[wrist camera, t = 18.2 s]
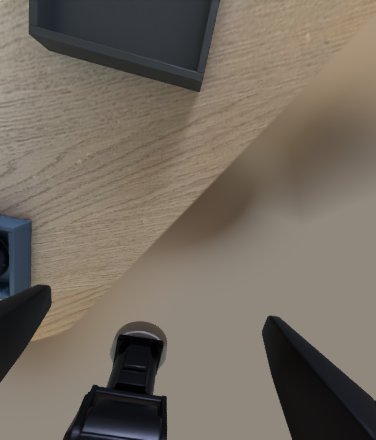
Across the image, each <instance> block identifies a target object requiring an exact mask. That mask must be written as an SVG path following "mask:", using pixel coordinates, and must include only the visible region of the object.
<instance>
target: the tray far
mask: <svg viewBox="0 0 376 440" xmlns="http://www.w3.org/2000/svg"><path fill="white" fill-rule="evenodd" d="M0 239H1V240H2V241H3V242H4V243H5V244H6V246H7V247H8V250H9V267H8V269H7V271H6V272H5V273H4V274H3V275H2V276H0V299H5V298H8V297H10V296H12V295H15V294H17V293H19V292H22V291H24V290H26V289H29V288H30V280H31V221H28V220H23V219H18V218H13V217H8V216H3V215H0Z"/></svg>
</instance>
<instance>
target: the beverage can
mask: <svg viewBox="0 0 376 440" xmlns="http://www.w3.org/2000/svg"><path fill="white" fill-rule="evenodd" d="M8 267H9V250H8V247H7V246H6V244H5V243H4V242H3V241H2V240H1V239H0V276H2V275H3V274H4V273H5V272H6V271H7V269H8Z"/></svg>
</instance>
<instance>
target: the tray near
mask: <svg viewBox="0 0 376 440" xmlns="http://www.w3.org/2000/svg"><path fill="white" fill-rule="evenodd" d="M219 2H220V0H29V24H30V25H29V34H30V35H31V36H32V37H33V38H35V39H36V40H37V41H38V42H39V43H41V44H42V45H43V46H44V47H45V48H47V49H48V50H49V51H52V52H56V53H60V54H63V55H67V56H70V57H74V58H78V59H81V60H85V61H89V62H92V63H96V64H99V65H103V66H107V67H110V68H114V69H118V70H121V71H125V72H129V73H132V74H136V75H139V76H143V77H147V78H150V79H154V80H158V81H161V82H165V83H168V84H172V85H176V86H179V87H183V88H187V89H190V90H194V91H197V92H200V89H201V85H202V80H203V76H204V71H205V67H206V62H207V58H208V53H209V48H210V44H211V39H212V35H213V30H214V25H215V21H216V16H217V12H218V7H219Z"/></svg>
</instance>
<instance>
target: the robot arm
mask: <svg viewBox="0 0 376 440" xmlns="http://www.w3.org/2000/svg"><path fill="white" fill-rule="evenodd" d="M51 303H52V300H51V287H50V286H48V285H41V284H39V285H35V286H33V287H31V288H29V289H26V290H24V291H22V292H19V293H17V294H15V295H12V296H10V297H8V298H5V299H3V300H1V301H0V382H1V381H2V379H3V378H4V377H5V375H6V374H7V373H8V371H9V370H10V369H11V367H12V366H13V365H14V363H15V362H16V360H17V359H18V358H19V356H20V355H21V354H22V352H23V351H24V349H25V348H26V346H27V345H28V343H29V342H30V340H31V338H32V337H33V335H34V333H35V332H36V330H37V329H38V327H39V325H40V324H41V322H42V320H43V319H44V317H45V315H46V314H47V312H48V310H49V309H50V307H51ZM262 336H263V341H264V345H265V349H266V354H267V358H268V362H269V367H270V371H271V375H272V378H273V382H274V385H275V388H276V391H277V394H278V397H279V400H280V403H281V406H282V410H283V413H284V416H285V419H286V422H287V425H288V428H289V431H290V434H291V437H292V440H376V401H375V400H373V398H372V397H371V396H370V395H369V394H367V393H366V392H365V391H364V390H363V389H362V388H361V387H359V386H358V385H357V384H356V383H355V382H354V381H352V380H351V379H350V378H349V377H348V376H347V375H345V374H344V373H343V372H342V371H341V370H340V369H339V368H337V367H336V366H335V365H334V364H333V363H332V362H330V361H329V360H328V359H327V358H326V357H325V356H324V355H322V354H321V353H320V352H319V351H318V350H317V349H315V348H314V347H313V346H312V345H311V344H309V343H308V342H307V341H306V340H305V339H304V338H303V337H302V336H300V335H299V334H298V333H297V332H296V331H295V330H293V329H292V328H291V327H290V326H289V325H288V324H287V323H285V322H284V321H283V320H282V319H281V318H279V317H277V316H268V317H267V320H266V322H265V325H264V327H263V330H262ZM121 338H122V339H121ZM163 347H164V342H163V341H162V340H156V339H149V338H143V337H136V336H130V335H123V334H120V335H119V336H118V338H117V343H116V349H115V355H114V361H113V368H112V372H111V375H110V378H109V382H108V385H107V387H106V388H104V387H99V386H98V385H93V386H92V389H91V391H90V392H88V394H87V395H85V397H84V399H83V401H82V404H81V406H80V408H79V411H78V413H77V415H76V416H75V418H74V420H73V421H72V423H71V425H70V427H69V428H68V430H67V432H66V433H65V436H64V438H63V440H167V402H166V401H167V397H166V396H155V395H153V391H154V383H155V376H156V375H157V371H158V367H159V363H160V359H161V355H162V351H163Z"/></svg>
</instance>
